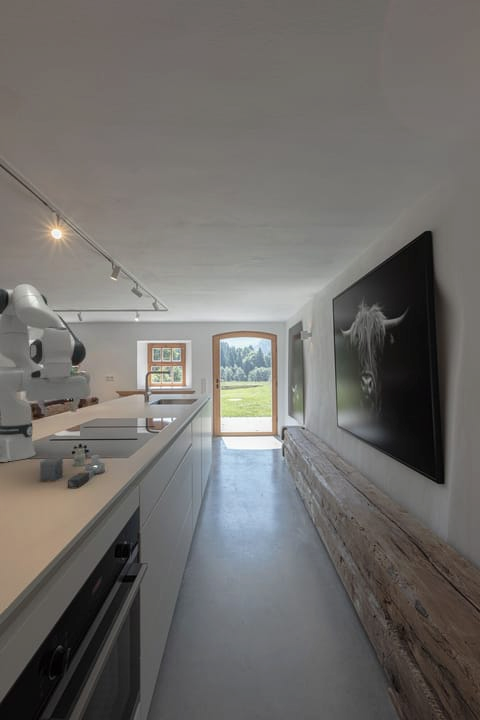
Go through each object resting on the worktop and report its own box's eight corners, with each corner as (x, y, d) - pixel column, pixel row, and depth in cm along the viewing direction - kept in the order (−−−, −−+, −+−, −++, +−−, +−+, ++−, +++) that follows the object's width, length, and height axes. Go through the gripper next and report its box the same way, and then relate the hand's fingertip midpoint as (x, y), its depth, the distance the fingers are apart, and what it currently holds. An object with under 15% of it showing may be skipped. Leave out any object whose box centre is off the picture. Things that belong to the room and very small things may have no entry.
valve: (89, 465, 137) (89, 458, 148) (88, 448, 137) (88, 442, 148) (70, 467, 134) (71, 460, 145) (70, 450, 134) (71, 444, 145)
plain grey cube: (40, 481, 118) (40, 462, 118) (48, 476, 123) (48, 458, 123) (55, 481, 118) (55, 462, 118) (62, 476, 123) (62, 458, 123)
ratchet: (62, 488, 111) (62, 469, 111) (90, 469, 131) (90, 453, 131) (82, 488, 111) (82, 469, 111) (107, 469, 131) (107, 453, 131)
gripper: (92, 371, 126) (93, 410, 125) (31, 374, 123) (32, 414, 122) (86, 370, 119) (87, 411, 118) (22, 374, 117) (23, 415, 116)
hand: (59, 412), depth 120 cm, fingers open, 8 cm apart
